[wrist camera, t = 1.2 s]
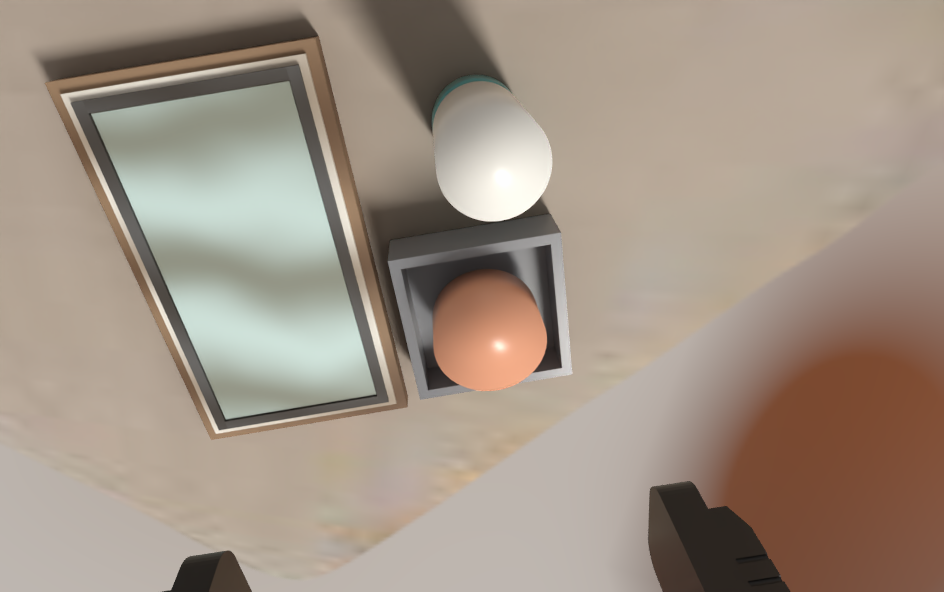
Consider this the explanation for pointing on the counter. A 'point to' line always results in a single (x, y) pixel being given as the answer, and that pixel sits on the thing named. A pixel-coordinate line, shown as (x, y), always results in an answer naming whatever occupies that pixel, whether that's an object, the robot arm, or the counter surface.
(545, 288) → the button housing
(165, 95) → the framed mirror
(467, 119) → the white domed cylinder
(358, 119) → the counter surface
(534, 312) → the button
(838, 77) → the counter surface
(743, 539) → the robot arm
